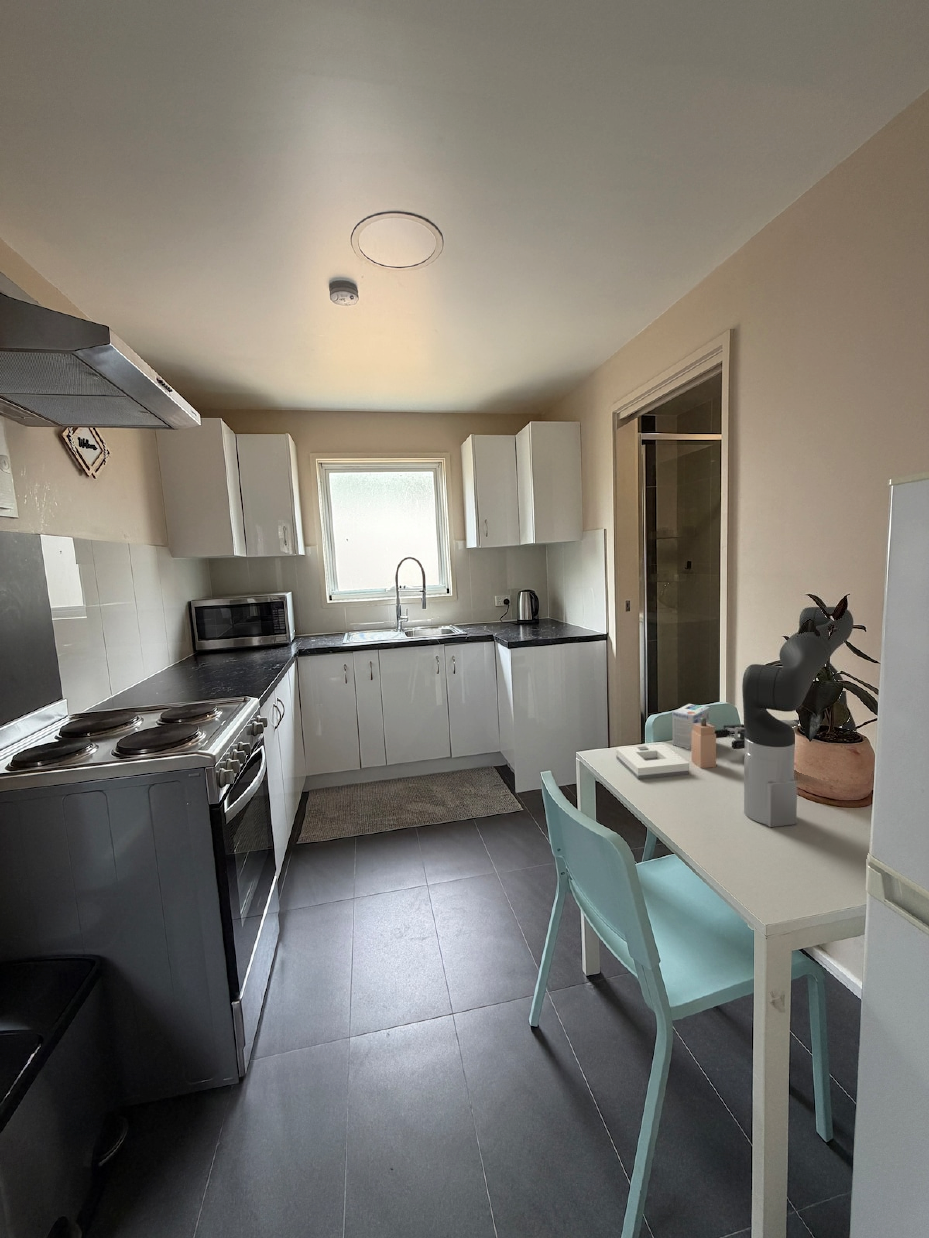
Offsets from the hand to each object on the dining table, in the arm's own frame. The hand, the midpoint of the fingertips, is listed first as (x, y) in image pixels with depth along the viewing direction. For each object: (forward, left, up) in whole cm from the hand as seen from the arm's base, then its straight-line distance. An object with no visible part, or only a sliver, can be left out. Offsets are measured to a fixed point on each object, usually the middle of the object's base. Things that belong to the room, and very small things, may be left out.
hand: (722, 739), depth 138 cm
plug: (0, +6, -7) cm, 9 cm away
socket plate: (+2, +20, -7) cm, 21 cm away
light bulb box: (+15, +1, -7) cm, 17 cm away
